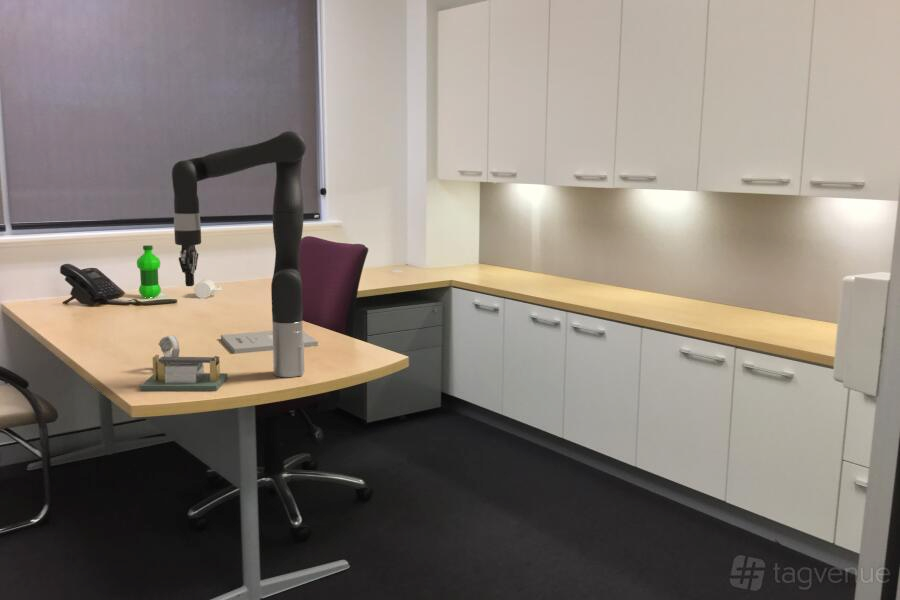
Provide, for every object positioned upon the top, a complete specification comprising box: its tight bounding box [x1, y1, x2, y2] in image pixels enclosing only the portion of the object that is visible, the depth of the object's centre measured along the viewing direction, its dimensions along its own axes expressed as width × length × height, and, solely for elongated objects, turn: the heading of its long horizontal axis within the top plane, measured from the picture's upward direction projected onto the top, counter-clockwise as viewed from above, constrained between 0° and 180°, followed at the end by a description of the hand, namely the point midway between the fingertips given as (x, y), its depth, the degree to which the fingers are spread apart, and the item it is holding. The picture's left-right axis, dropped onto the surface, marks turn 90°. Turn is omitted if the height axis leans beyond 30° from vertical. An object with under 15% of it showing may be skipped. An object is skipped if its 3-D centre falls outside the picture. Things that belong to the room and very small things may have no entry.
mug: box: [193, 278, 223, 299], centre depth 392 cm, size 12×10×8 cm
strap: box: [158, 355, 220, 364], centre depth 241 cm, size 17×4×2 cm, turn 92°
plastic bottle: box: [136, 244, 162, 299], centre depth 385 cm, size 10×10×25 cm
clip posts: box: [151, 354, 221, 382], centre depth 241 cm, size 19×5×7 cm, turn 92°
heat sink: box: [165, 362, 205, 384], centre depth 241 cm, size 9×9×5 cm
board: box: [139, 372, 229, 392], centre depth 242 cm, size 22×14×2 cm, turn 92°
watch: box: [158, 335, 180, 364], centre depth 258 cm, size 6×8×11 cm
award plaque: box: [220, 330, 319, 355], centre depth 298 cm, size 25×30×2 cm
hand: (190, 285), depth 243 cm, fingers closed
